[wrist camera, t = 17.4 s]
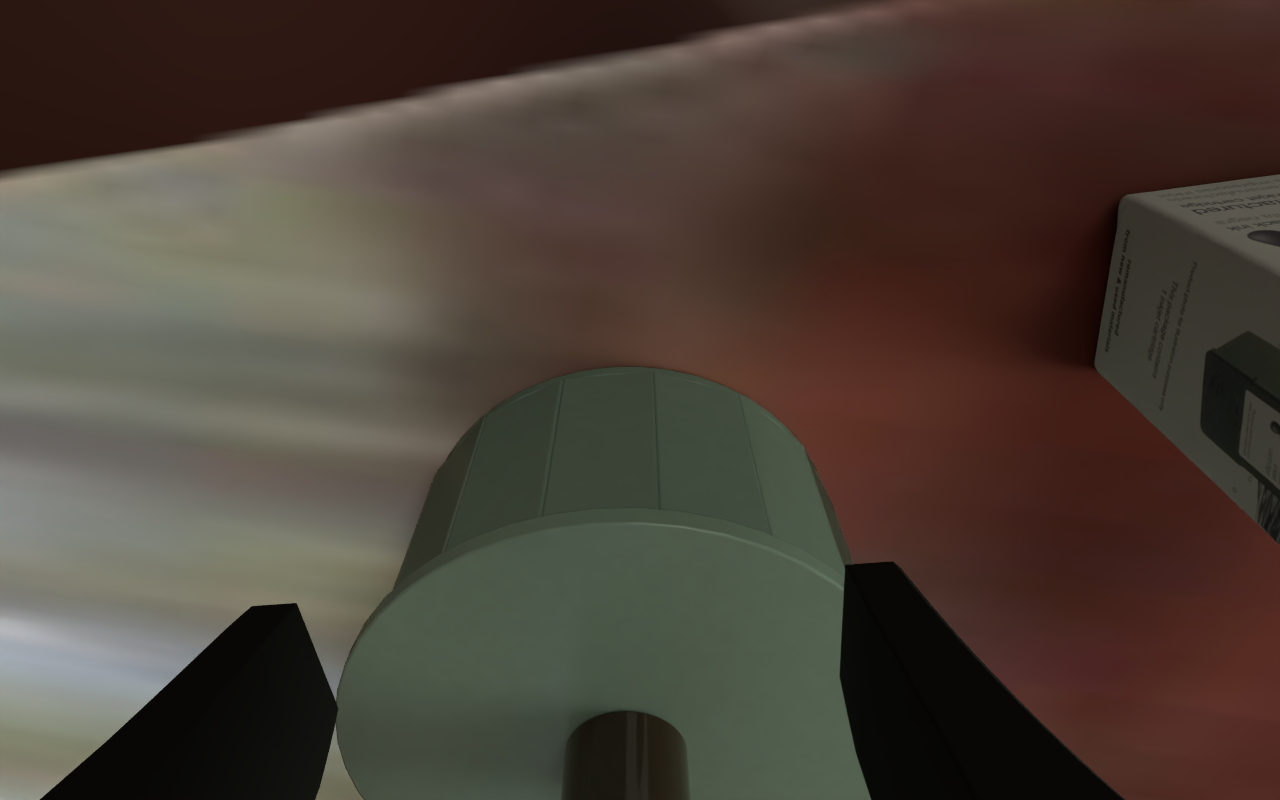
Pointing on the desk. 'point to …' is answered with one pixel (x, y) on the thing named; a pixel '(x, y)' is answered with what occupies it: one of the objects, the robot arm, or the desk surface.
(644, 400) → the bowl
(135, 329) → the desk surface
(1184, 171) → the desk surface
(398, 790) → the lid
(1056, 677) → the desk surface
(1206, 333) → the ink box
